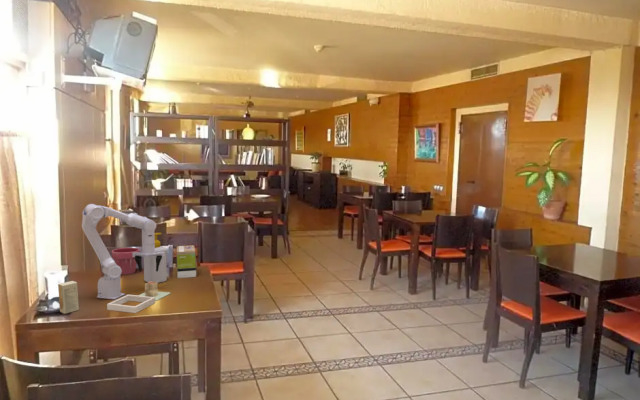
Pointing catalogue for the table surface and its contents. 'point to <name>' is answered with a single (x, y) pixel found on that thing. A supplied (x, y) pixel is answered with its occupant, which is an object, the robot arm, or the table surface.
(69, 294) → the skincare box
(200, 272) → the table surface
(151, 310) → the table surface
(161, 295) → the sage tile
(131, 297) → the white bin
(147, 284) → the birch block
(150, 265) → the soap bottle
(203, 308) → the table surface
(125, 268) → the plant pot
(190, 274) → the tea box
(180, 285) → the table surface
